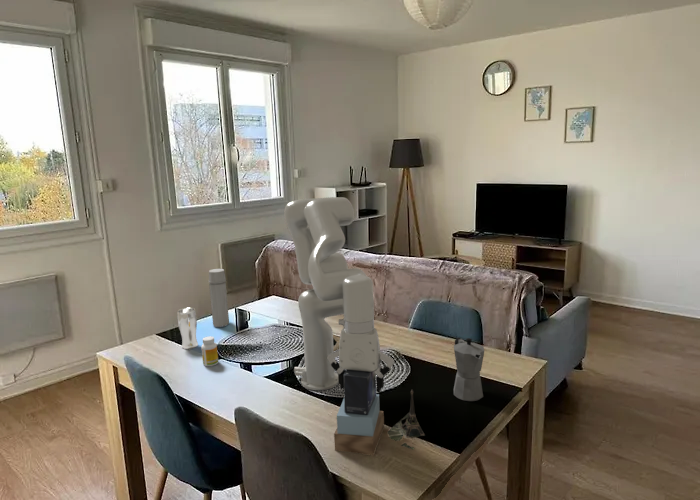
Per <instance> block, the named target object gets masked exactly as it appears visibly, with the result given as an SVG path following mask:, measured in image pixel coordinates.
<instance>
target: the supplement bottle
mask: <svg viewBox="0 0 700 500" xmlns="http://www.w3.org/2000/svg"><path fill="white" fill-rule="evenodd" d="M200 348H201V358H202V364H203V366H205V367H213V366H216V365H218V363H219V354H218V352H219V351H218V345H217V343H216V342H215V337H214V336H210V335H209V336H205V337H203V338H202V345H201V347H200Z"/></svg>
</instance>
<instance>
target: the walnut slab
mask: <svg viewBox="0 0 700 500" xmlns="http://www.w3.org/2000/svg"><path fill="white" fill-rule="evenodd" d="M384 429H385V415H384V411H383V410H380V411H379V415H378V419H377V423H376V427H375V430H374V434H373V436H361V435H348V434H338V433H337V428H336V430H335V431H334V433H333V438H334V442H333V443H334V451H339V452H345V453H353V454H360V455H367V456H374V455H375V452H376V449H377V446H378V445H379V441H380V438H381V436H382V434H383V431H384Z"/></svg>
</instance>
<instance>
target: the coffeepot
mask: <svg viewBox="0 0 700 500" xmlns="http://www.w3.org/2000/svg"><path fill="white" fill-rule="evenodd" d="M472 339H473V338H466V342H465V340H463V339H462V338H461V337H456V339H455V340H454V344H453V350H454V351H453V352H454V358H455V365H456V370H457V372H456V375H455V380H454V384H453V385H454V386H453V396H454V397H456V398H457V399H459V400H461V401H464V402H475V401H476V402H477V401H479V400H481V399H482V398H484V393H483V386H482V379H481V373H480V372H481V371H482V366H483V361H484V357H485V356H484V355H485V348H484V345H481V344H478V343H477V342H472V341H473V340H472Z"/></svg>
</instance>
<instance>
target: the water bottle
mask: <svg viewBox="0 0 700 500" xmlns="http://www.w3.org/2000/svg"><path fill="white" fill-rule="evenodd" d="M227 281H228V280H227V279H226V274H225V269H223V268H214V269H209V271H208V281H207V282H208V286H209V296H210V304H211V305H210V307H211V308H210V309H211V317H212V325H213V327H215V328H224V327H226V326H228V325H229V324H230V317H229V307H228V296H227V295H228V294H227V284H226V282H227Z"/></svg>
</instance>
